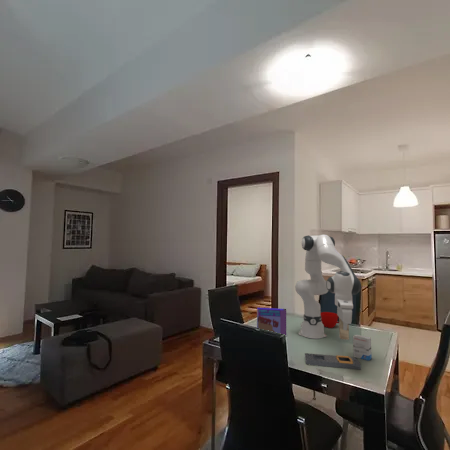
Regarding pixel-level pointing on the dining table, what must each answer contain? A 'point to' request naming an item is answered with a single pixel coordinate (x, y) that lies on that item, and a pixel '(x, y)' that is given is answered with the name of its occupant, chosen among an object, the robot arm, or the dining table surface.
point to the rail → (333, 361)
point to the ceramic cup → (329, 319)
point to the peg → (343, 331)
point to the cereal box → (272, 319)
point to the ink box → (362, 347)
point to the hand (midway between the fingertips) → (343, 328)
